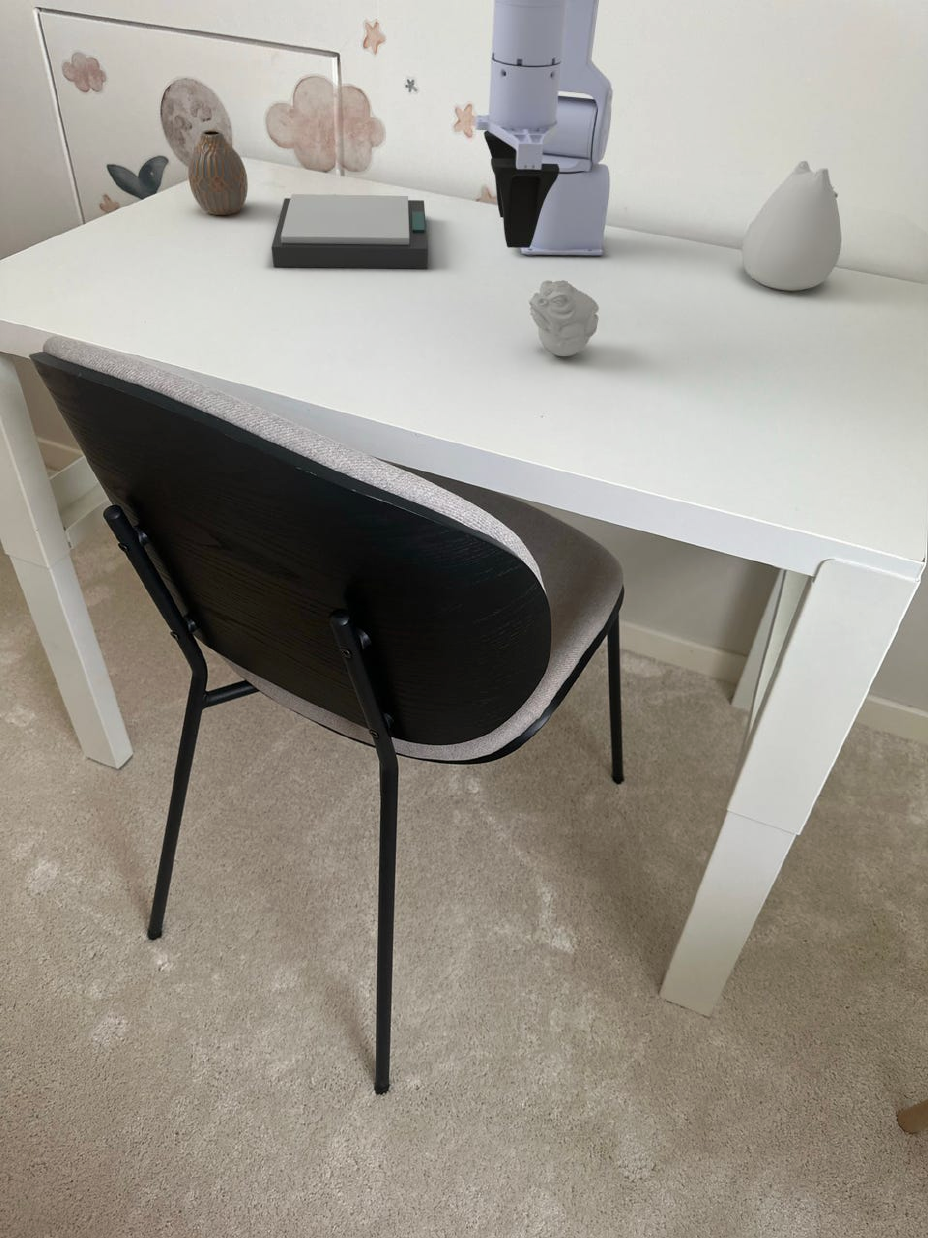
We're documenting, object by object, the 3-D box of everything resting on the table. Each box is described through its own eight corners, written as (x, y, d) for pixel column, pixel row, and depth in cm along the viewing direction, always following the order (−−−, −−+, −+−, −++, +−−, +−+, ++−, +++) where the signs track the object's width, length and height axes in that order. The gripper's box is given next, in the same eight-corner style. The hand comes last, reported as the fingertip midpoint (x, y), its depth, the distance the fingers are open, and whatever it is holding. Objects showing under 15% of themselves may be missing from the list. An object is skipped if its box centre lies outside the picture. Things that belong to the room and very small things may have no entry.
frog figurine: (512, 345, 86) (517, 273, 81) (575, 334, 88) (584, 264, 83) (541, 374, 82) (549, 300, 77) (607, 361, 84) (618, 289, 79)
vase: (183, 215, 109) (170, 136, 103) (211, 197, 114) (199, 121, 108) (234, 222, 108) (223, 143, 102) (260, 204, 113) (251, 128, 107)
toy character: (850, 287, 99) (888, 171, 91) (783, 305, 95) (817, 185, 87) (781, 255, 106) (811, 145, 98) (716, 271, 101) (742, 157, 93)
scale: (424, 218, 111) (424, 193, 109) (427, 268, 99) (427, 241, 97) (286, 216, 110) (283, 190, 108) (273, 267, 98) (270, 239, 96)
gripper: (472, 40, 78) (466, 203, 87) (483, 78, 67) (475, 259, 76) (552, 42, 78) (538, 204, 87) (575, 80, 68) (557, 261, 77)
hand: (514, 230), depth 82 cm, fingers open, 7 cm apart
